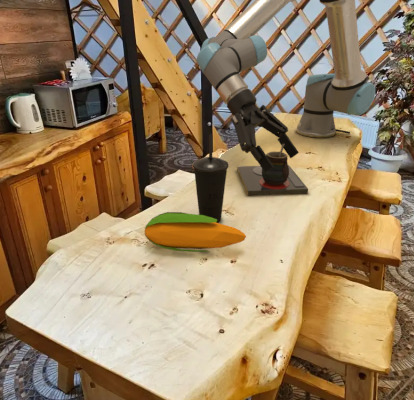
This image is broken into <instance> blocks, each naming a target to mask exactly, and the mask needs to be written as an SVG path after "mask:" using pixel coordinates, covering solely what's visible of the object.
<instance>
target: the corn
mask: <svg viewBox="0 0 414 400" xmlns="http://www.w3.org/2000/svg"><path fill="white" fill-rule="evenodd" d="M216 222H217V219H214V218H211V217H208V216H204V215H199V214H195V213H187V212H181V211H174V212H173V211H167V212H163V213H159V214H158V215H155V216H154V217H152V218H151V219H150V220H149V221H148V223H147V224H146V225H145V227H144V237H146V239H147V240H148V241H149V242H150V243H152V245H154V246H157V247H159V248H160V249H165V250H170V251H174V252H175V251H177V252H188V253H189V252H190V253H210V252H211V251H210V249H221V248H225V247H228V246H232V245H236V244H239V243H241V242H243V241H245V239H246V238H247V235H246V234H245V233H244V232H243V231H242V230H240V229H239V228H236V227H233V226H230V225H226V224H223V223H221V222H219V223H216Z"/></svg>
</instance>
